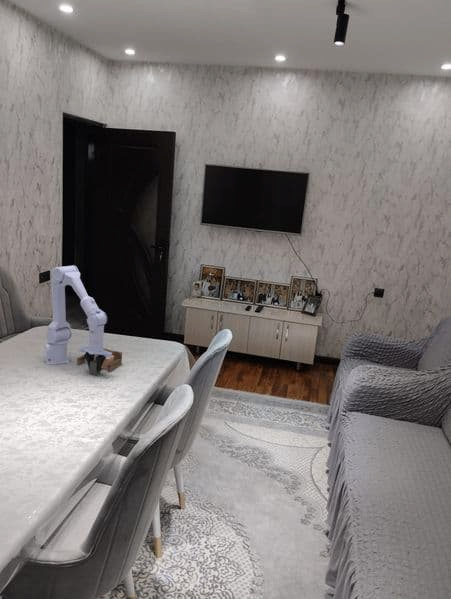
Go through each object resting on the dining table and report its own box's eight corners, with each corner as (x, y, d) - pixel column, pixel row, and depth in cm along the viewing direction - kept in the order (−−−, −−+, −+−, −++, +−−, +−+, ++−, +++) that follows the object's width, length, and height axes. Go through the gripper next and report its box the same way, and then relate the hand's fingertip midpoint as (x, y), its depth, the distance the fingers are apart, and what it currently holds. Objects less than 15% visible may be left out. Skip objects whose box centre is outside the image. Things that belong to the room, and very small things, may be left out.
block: (84, 363, 209) (85, 353, 208) (90, 360, 214) (91, 349, 213) (94, 365, 208) (94, 355, 207) (100, 362, 212) (100, 351, 211)
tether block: (87, 373, 198) (88, 361, 197) (103, 364, 210) (104, 352, 209) (97, 375, 197) (98, 363, 195) (113, 366, 209) (114, 354, 208)
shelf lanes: (77, 364, 207) (77, 351, 205) (89, 357, 216) (90, 345, 215) (109, 371, 202) (110, 358, 201) (121, 364, 212) (122, 352, 211)
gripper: (75, 339, 194) (74, 369, 196) (106, 345, 190) (104, 376, 193) (85, 335, 200) (84, 364, 203) (115, 341, 196) (113, 371, 199)
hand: (94, 370), depth 198 cm, fingers closed on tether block, 3 cm apart
